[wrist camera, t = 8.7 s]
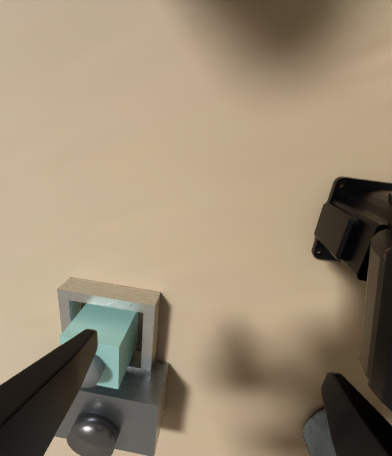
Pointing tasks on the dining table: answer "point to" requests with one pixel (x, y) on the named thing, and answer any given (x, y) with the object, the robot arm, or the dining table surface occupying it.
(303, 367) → the dining table surface
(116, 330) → the mint block with knob
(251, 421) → the dining table surface
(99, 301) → the square frame
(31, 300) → the dining table surface
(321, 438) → the moka pot
